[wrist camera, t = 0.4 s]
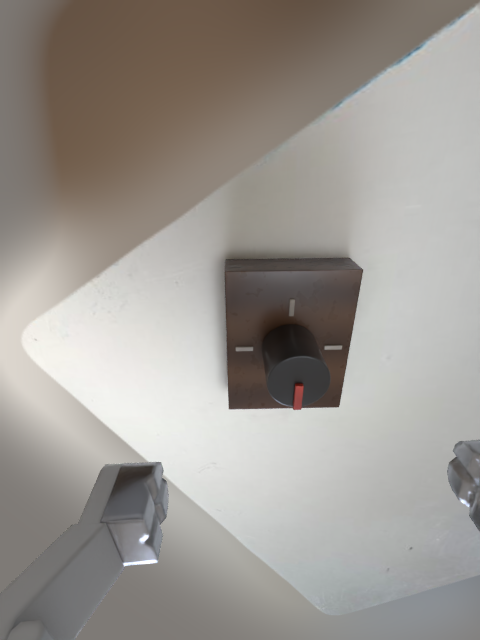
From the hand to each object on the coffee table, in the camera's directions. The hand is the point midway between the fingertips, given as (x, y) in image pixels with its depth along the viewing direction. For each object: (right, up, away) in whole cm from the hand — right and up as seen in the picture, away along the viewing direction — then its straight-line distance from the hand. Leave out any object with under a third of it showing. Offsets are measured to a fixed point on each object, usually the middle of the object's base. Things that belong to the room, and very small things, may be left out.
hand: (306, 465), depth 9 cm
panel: (+2, +3, +20) cm, 20 cm away
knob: (+2, +2, +17) cm, 17 cm away
